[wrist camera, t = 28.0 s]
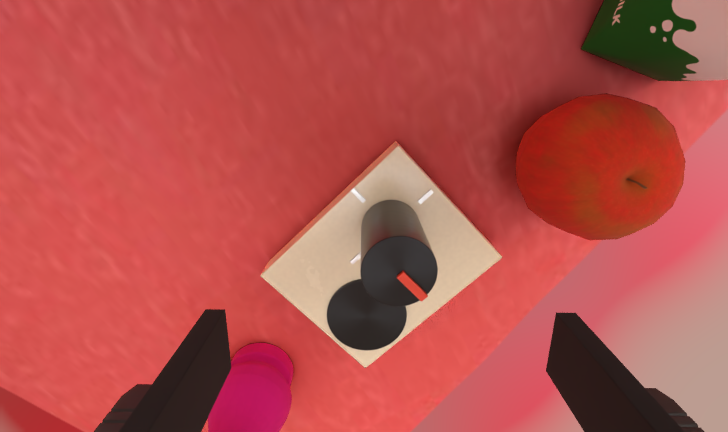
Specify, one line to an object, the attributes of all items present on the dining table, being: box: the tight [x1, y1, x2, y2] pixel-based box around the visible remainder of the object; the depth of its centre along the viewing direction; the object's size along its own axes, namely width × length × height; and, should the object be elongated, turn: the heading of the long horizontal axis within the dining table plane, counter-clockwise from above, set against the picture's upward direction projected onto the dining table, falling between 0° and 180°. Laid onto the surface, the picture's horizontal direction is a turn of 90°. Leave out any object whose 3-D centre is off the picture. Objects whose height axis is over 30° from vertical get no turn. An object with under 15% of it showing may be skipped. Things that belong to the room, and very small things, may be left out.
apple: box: [516, 94, 685, 240], centre depth 29 cm, size 10×10×12 cm
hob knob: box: [360, 200, 438, 307], centre depth 29 cm, size 5×5×9 cm
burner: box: [327, 279, 407, 351], centre depth 36 cm, size 7×7×1 cm
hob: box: [261, 141, 502, 368], centre depth 36 cm, size 16×13×3 cm
